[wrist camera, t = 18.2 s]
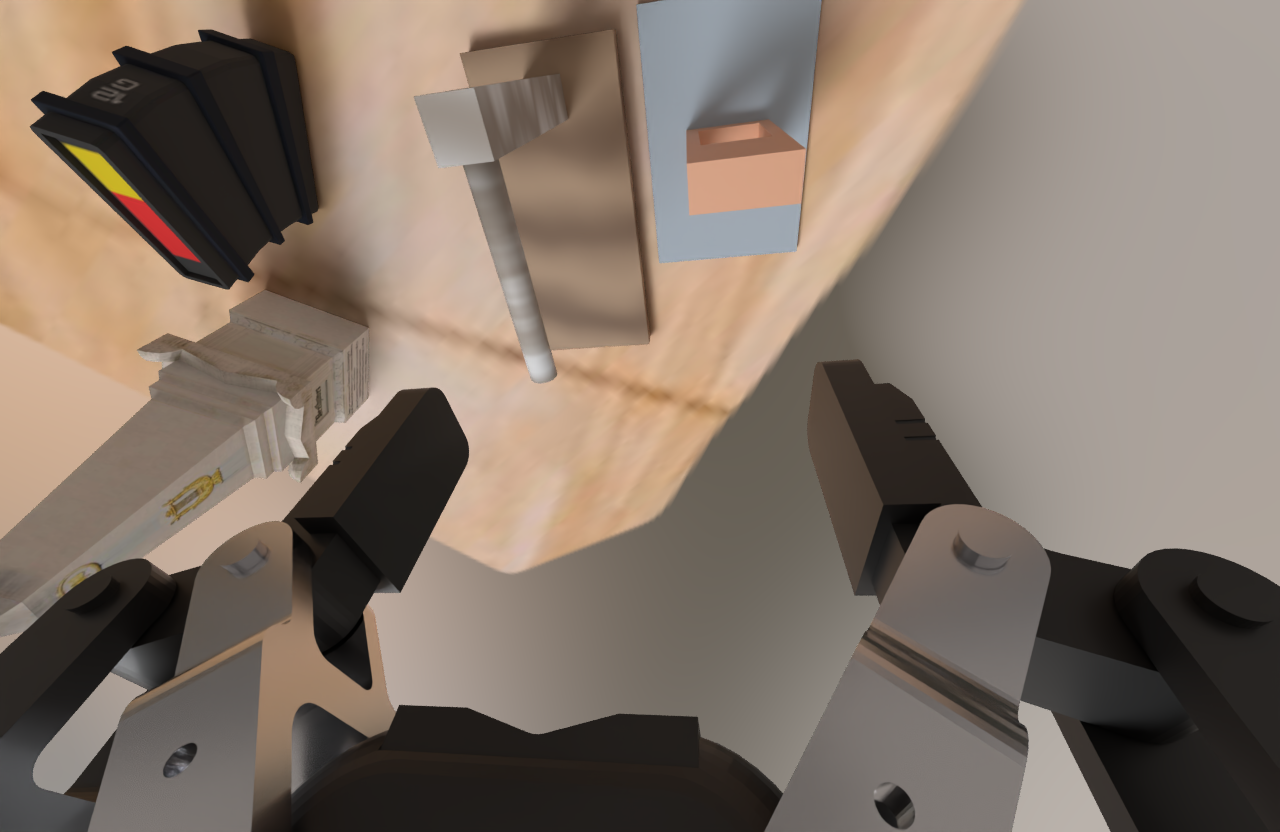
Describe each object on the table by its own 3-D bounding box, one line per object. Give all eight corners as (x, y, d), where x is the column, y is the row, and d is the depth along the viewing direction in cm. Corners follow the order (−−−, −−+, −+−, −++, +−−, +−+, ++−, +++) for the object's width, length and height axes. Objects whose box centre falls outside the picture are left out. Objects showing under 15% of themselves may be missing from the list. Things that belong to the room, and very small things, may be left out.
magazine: (273, -10, 28) (99, 142, 21) (349, 176, 39) (253, 310, 33) (207, -34, 27) (9, 114, 21) (305, 162, 39) (198, 295, 32)
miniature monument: (372, 402, 50) (102, 703, 27) (272, 369, 48) (-111, 661, 25) (374, 326, 44) (25, 632, 21) (259, 283, 42) (-269, 569, 19)
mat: (636, 5, 28) (636, 4, 27) (822, -25, 26) (824, -27, 26) (659, 261, 38) (659, 263, 37) (795, 249, 36) (796, 251, 36)
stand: (468, 53, 30) (302, 53, 17) (615, 30, 29) (558, 11, 16) (547, 342, 44) (489, 466, 31) (650, 336, 42) (634, 462, 29)
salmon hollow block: (686, 130, 31) (686, 163, 22) (768, 119, 31) (806, 148, 21) (688, 168, 33) (689, 215, 23) (766, 159, 32) (801, 203, 23)
